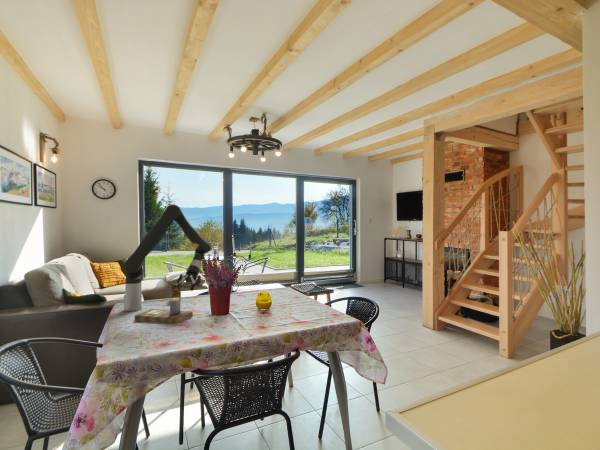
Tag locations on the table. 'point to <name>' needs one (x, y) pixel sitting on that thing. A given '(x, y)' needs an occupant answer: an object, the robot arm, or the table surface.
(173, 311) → the grey upright cylinder
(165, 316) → the rack foot plate
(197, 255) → the robot arm
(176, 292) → the condiment
